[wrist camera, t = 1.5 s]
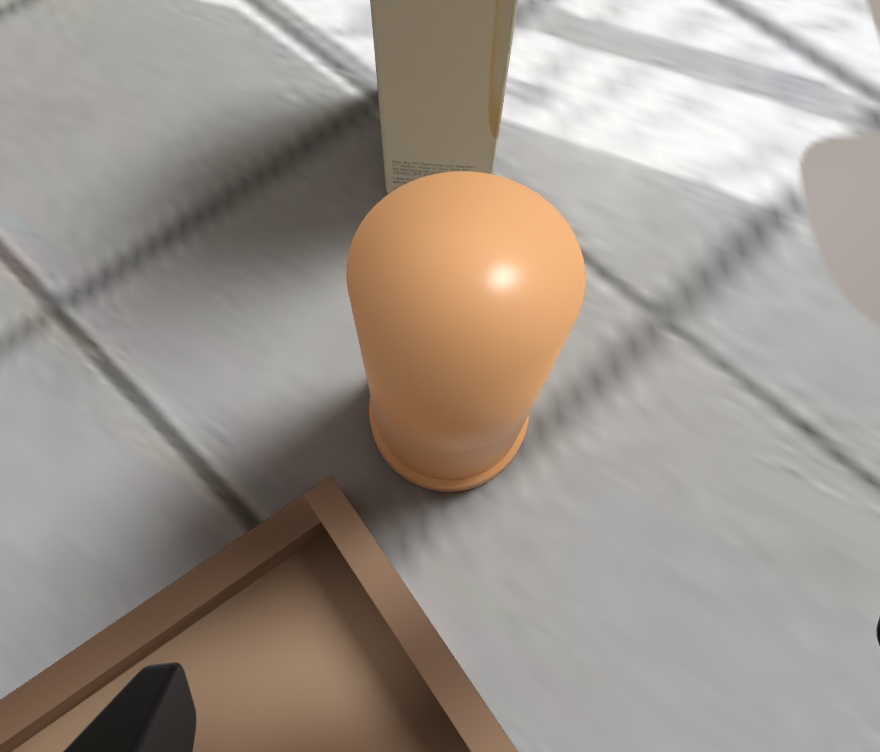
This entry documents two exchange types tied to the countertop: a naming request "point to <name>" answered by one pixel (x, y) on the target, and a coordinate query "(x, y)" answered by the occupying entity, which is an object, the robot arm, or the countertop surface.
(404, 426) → the peach dome-topped cylinder
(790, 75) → the countertop surface
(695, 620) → the countertop surface
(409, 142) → the skincare box
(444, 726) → the walnut tray
